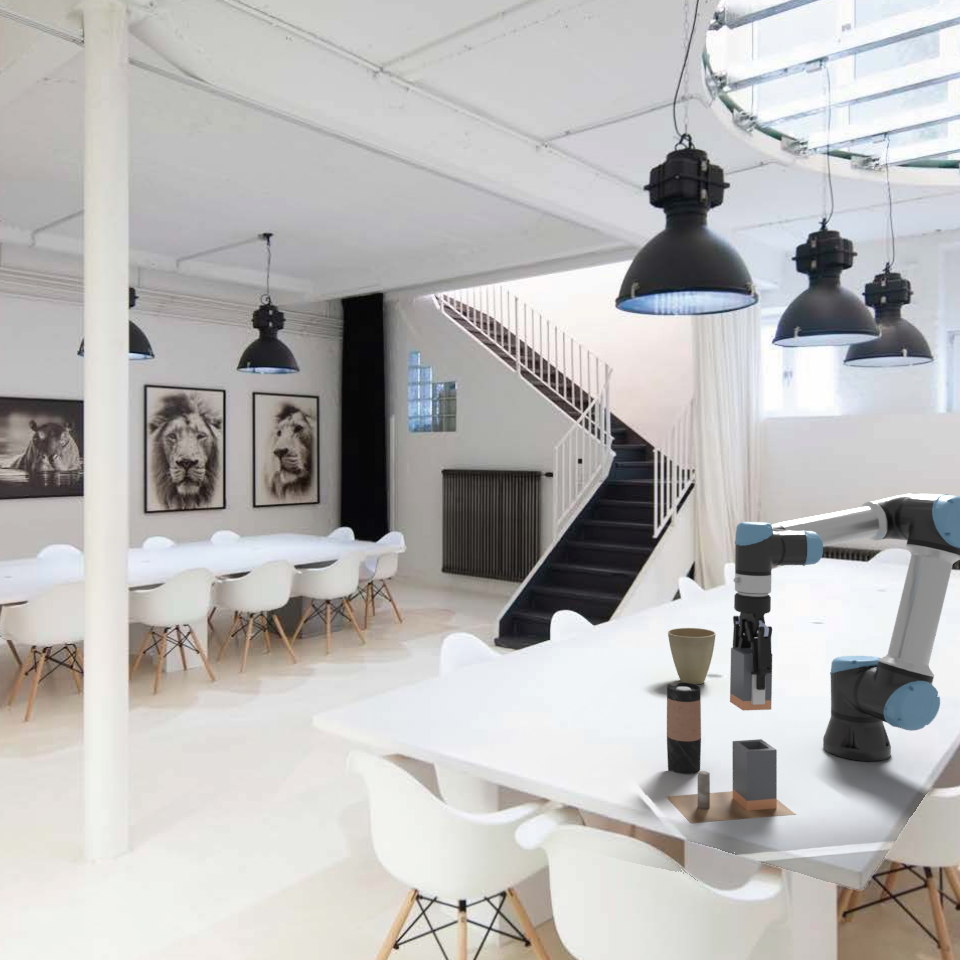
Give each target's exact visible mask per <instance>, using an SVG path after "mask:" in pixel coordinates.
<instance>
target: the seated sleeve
mask: <svg viewBox="0 0 960 960" xmlns="http://www.w3.org/2000/svg"><path fill="white" fill-rule="evenodd" d="M777 752H778V750H777V749H776V748H775V747H773V746H772V745H770V744H769V743H768V742H766V741H765V740H763V739H762V738H760V739H745V740H733V741H732V791H733V799H734V800H735V801H737V802H738V803H739V804H740V805H741V806H742V807H743V808H744V809H746V810H747V811H750V810H762V809H775V808H777V800H778V799H777V798H778V796H777V789H778V787H777V781H778V780H777V775H778V774H777V772H778V771H777V770H778V769H777V766H778V764H777V759H778V758H777Z"/></svg>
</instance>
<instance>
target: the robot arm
mask: <svg viewBox="0 0 960 960" xmlns="http://www.w3.org/2000/svg"><path fill="white" fill-rule="evenodd" d="M734 539H735V540H734V544H735V545H734V547H735V548H734V551H735V554H734V559H735V560H734V568H735V569H734V571H735V572H734V578H733V583H734V591H735V594H734V598H733V599H734V603H733V604H734V605H733V608H734V611H736V612H739V615H733V617H732V620H733V632H732V633H733V634H732V635H733V637H732V648H751V650H752V654H753V666H754V672H751V674H752V698H751V704H753V705H756V704H765V678H766V674H768V673H772V674H773V655H772V656H771V653H772V634H773V633H772V632H773V627H772V626H770V625H769V626H768V625H766V620H765V615H767V614H769V613H771V611H772V610H771V608H772V607H771V606H772V603H771V601H772V597H771V596H770V595H769V594H770V593H772V567H773V566H774V567H776V566H803V567H805V566H809V565H815V564H817V563H819V562H820V560H821V559H822V557H823V556H824V555H823V554H824V547H826V546H833V545H840V544H843V543H847V542H853V541H859V540H862V539H863V540H864V539H869V540H871V541H879V540H890V539H891V540H901V541H906V545H905V546H906V548H907V549H908V552H910V559H909V564H908V567H907V572H906V577H905V579H904V585H903V589H902V593H901V597H900V601H899V605H898V610H897V614H896V617H895V621H894V622H895V623H894V627H893V631H892V634H891V639H890V643H889V647H888V651H887V654H886V655H885V656H882V657H879V656H872V655H845V656H844V655H843V656H837V657H835V658H834V659H832V660H831V666H830V673H829V675H830V718H829V721H828V724H827V726H826V728H825V733H824V734H823V738H822V739H823V742H822V747H823V749H824V750H825V751H826V752H827V753H829V754H831V755H833V756H836V757H840V758H843V759H848V760H853V761H861V762H862V761H863V762H878V761H884V760H887V759H889V758H890V757H891V755H892V746H891V742H890V738H889V737H888V733H887V730H886V727H885V724H884V723H887V724H889V725H890V726H892V727H895V728H898V729H901V730H906V731H910V732H911V731H912V732H913V731H918V730H921V729H924V728H925V727H926V726H928V725H930V724H931V723H932V722H933V721H934V719H935V718H936V717H937V715H938V713H939V709H940V706H941V697H940V695H939V691H938V690H937V688H936V687H935V686H934V685H933V682H934V677H935V674H934V673H933V671H932V670H931V668H930V666H929V665H930V661H931V656H932V654H933V649H934V648H933V647H934V644H935V641H936V640H935V639H936V636H937V632H938V627H939V623H940V620H941V619H940V618H941V614H942V610H943V606H944V602H945V597H946V594H947V589H948V585H949V581H950V577H951V573H952V570H953V569H952V568H953V564H955V563H956V562H958V561H960V495H959V496H958V495H953V494H948V493H943V494H939V493H918V492H911V493H901V494H897V495H893V496H889V497H884V498H880V499H875V500H870V501H867V502H864V503H863V504H862V505H861V506H860V507H856V508H855V507H854V508H850V509H845V510H840V511H835V512H829V513H823V514H819V515H813V516H806V517H802V518H797V519H792V520H786V521H781V522H776V523H770V522H764V521H741V522H740V523H739V522H738V524H737V525H736V530H735V538H734Z"/></svg>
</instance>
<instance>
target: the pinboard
mask: <svg viewBox="0 0 960 960" xmlns="http://www.w3.org/2000/svg"><path fill="white" fill-rule="evenodd" d="M710 777H711V773H710V772H709V771H705V770H700V771H699V772H697V793H694V794H692V793H691V794H681V795H669V796H668V795H667V796H665V797H666V799H668V801H669V802H670V803H671V804H672V805H673V806H674V807H675V808H676V809H677V810H678V811H679V812H680V813H681V815H683V817H685V818H686V819H687V821H688V822H689V823H690V824H697V823H710V822H720V821H721V822H723V821H732V820H733V821H734V820H747V819H758V818H760V819H761V818H768V817H769V818H771V817H778V816H779V817H781V816H782V817H783V816H792V815H793V816H795V815H797V814H796V813H795V812H793V811H792V810H791V809H790V808H788V807H787V806H786V805H785V804H784V803H782V801H780V800H778V799H777V808H775V809H762V810H750V811H747V810H746V809H744V808H743V807H742V806H741V805H740V804H739V803H738V802H737V801H735V800H734V799H733V790H732V791H719V792H711V791H710V790H711V787H710V786H711V785H710V784H711V779H710Z"/></svg>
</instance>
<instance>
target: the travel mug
mask: <svg viewBox="0 0 960 960" xmlns="http://www.w3.org/2000/svg"><path fill="white" fill-rule="evenodd" d="M701 692H702V691H701V686H700V685H699V684H692V683H684V682H681V681H680V682H678V683H676V684H675V685H674V684H673V685H671V684H670V683H669V684H667V686H666V749H667V750H666V751H667V753H666V755H667V772H673V773H676V774H680V775H693V774H698V772H699V771H701V754H702V753H701V752H702V749H701V748H702V708H701V707H702V704H701V703H702V702H701V700H702V699H701V695H702V694H701Z"/></svg>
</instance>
